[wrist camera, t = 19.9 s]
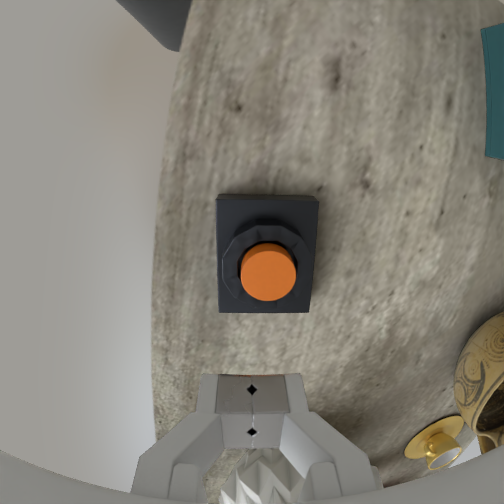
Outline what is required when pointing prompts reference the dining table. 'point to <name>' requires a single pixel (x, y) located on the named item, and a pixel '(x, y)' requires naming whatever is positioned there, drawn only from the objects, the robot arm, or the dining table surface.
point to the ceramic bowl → (483, 383)
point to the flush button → (267, 272)
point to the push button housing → (258, 232)
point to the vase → (262, 479)
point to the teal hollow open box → (494, 89)
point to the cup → (437, 443)
